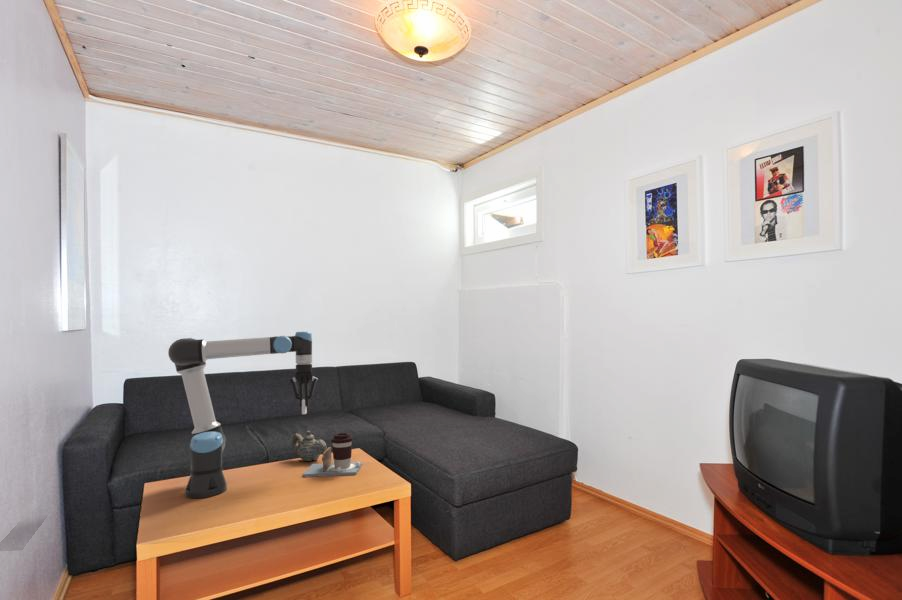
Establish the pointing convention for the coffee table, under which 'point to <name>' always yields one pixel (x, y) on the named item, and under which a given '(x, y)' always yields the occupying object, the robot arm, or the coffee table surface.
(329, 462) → the panel
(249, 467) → the coffee table surface
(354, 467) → the grey flat slab
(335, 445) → the coffee cup
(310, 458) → the teapot
